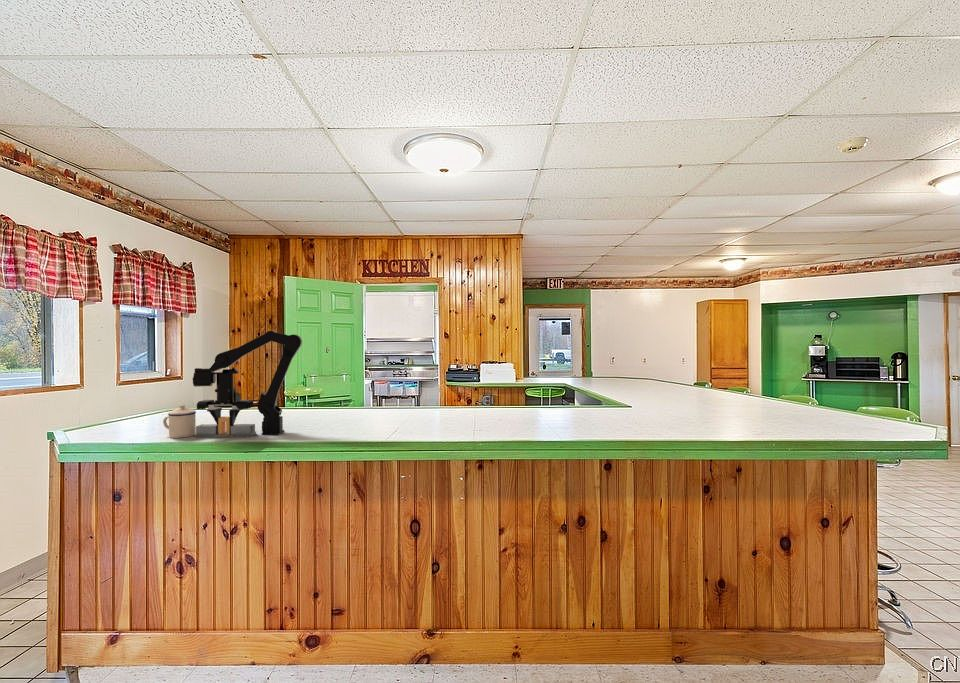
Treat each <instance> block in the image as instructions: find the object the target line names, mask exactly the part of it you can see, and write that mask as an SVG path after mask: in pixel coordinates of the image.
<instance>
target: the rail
mask: <svg viewBox="0 0 960 683" xmlns="http://www.w3.org/2000/svg"><path fill="white" fill-rule="evenodd" d="M255 435H257V431H256V424H255V423H234V425H232V426H231V433H230V434H226V432H225V433H223V434H218V425H217V423H215V424H212V423H210V424H209V423H208V424H206V423H204V424H202V423H201V424H198V425H196V434H195V435H194V438H195V437H216V439H217V438H220V439H221V438H251V437H253V436H255Z"/></svg>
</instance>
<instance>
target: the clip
mask: <svg viewBox="0 0 960 683" xmlns="http://www.w3.org/2000/svg"><path fill="white" fill-rule="evenodd" d="M225 432H226V434H230V433H231V427H230V416H221V417H220V418H218V434H223V433H225Z"/></svg>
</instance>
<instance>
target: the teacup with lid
mask: <svg viewBox="0 0 960 683" xmlns="http://www.w3.org/2000/svg"><path fill="white" fill-rule="evenodd" d="M196 414H197V411H196V410H195V409H192V408H190V407H188V406H186V404H179V405H178V407H177V408H175V409H173V410H171V411H169V412H168V413H167V415H168V416H165V417H164V418H163V420H162V423H163V426H164V428H165V429H166V430H168V437H170V438H171V437H172V439H179V438H180V439H181V438H182V437H184V438H190V437H192V436H195V435H196V426H197V425H196V424H197V423H196V420H197V419H196Z"/></svg>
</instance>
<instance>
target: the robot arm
mask: <svg viewBox="0 0 960 683" xmlns="http://www.w3.org/2000/svg"><path fill="white" fill-rule="evenodd" d="M271 342H273V343H277V344H281V345H283V350H282V355H281V358H280V361H279V363H278V365H277V368H276V370H275V373H274V375H273V377H272V380H271V382H270V385H269V387H268V389H267V391H266V392H265V391H263V392H261V393H260V397H259V399H258V401H257V402H256V405H257V410H258V412H259V413H260V414H261V415H262V416H263V419H262V421H261V435H263V436H264V435H265V436H266V435H274V436H275V435H280V434H282V433H284V432H285V430H284V428H283V427H284V424H283V416H282V412H283V409H282V408H281V407H279V406H278V400H279V399H278V398H279V393H280V391H281V390H280V389H281V387H282V384H283V382H284V380H285V377H286V375H287V373H288V370H289V368H290V365H291V363H292V360H293V359H294V357H295V356H296V354H297V352H298V351H299V350H300V348H301V346H302V345H303V339H302V337H301V335H298V334H290V335H289V334H284V333H280V332H277V331H274V330H268V331H266V332H265V333H264V334H262V335H261V334H260V336H259V335H258V336H257V337H256V338H253V339H252V340H250V341H248V342H246V343H243V344H242V345H241V346H238V347H236V348H232V349H229V350H225V351H222V352H220V353H218V354H216V355H215V358H214V362H213V364H212V365H211V366H210V367H209V368H208V367H207V368H200V367H196V368H194V372H193V376H192V385H193V387H195V388H197V387H212V386H213V384H216V389H214V393H216V399H215V400H214V399H203V400H199V401H198V402H197V403H196V410H205V409H206V412H209V414H210V415H211V416H212V418H213V419H214V422H215V424H217V425H218V418H220V417H222V409H223V408H226V407H227V408H231V409H229V410H228V412H229V416H228V417H230V427H231V426H232V425H235V424H236V419H237V418H238V414H239V413H240V411H241V410H247V409H250V408H253V407H254V406H255V405H254V401H253V399H242V394H241V393H240V392H238V391H237V390H236V387H235V386H234V384H235V383H234V381H235V380H234V379H235V378H234V375H235V374H239V373H240V370H238V369H237V368H236V367H235V366H233V365H235V364H236V363H237V362H238V361H239V360H241V359H242V358H243V357H244V356H246V355H248V354H250V353H252V352H253V351H256V350H257V349H259V348H261V347H264V346H265V345H267V344H269V343H271ZM232 366H233V367H232ZM229 367H232V368H229ZM221 369H222V371H220V370H221Z"/></svg>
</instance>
